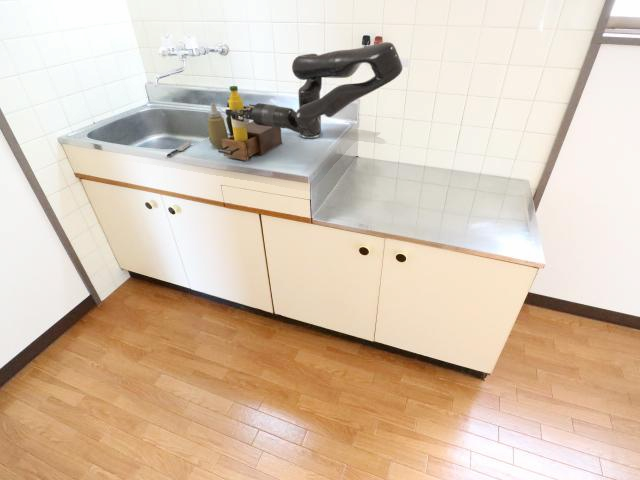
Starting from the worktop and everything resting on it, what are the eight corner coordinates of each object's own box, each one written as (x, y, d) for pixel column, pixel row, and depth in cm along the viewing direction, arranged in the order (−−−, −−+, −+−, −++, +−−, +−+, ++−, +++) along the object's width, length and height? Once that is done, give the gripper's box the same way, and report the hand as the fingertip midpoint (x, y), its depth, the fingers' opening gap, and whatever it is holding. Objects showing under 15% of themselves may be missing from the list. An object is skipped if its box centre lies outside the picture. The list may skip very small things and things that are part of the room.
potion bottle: (251, 138, 167) (246, 96, 157) (239, 144, 161) (233, 101, 151) (237, 135, 170) (231, 94, 160) (225, 140, 165) (218, 98, 154)
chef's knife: (196, 142, 165) (190, 141, 165) (196, 139, 164) (190, 138, 164) (173, 158, 149) (166, 157, 150) (172, 155, 149) (165, 154, 149)
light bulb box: (243, 126, 180) (240, 103, 174) (251, 130, 176) (248, 106, 170) (223, 131, 175) (220, 108, 169) (230, 135, 171) (227, 111, 164)
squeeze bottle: (206, 146, 159) (198, 103, 149) (222, 141, 164) (215, 99, 154) (217, 151, 155) (209, 106, 145) (233, 145, 160) (226, 102, 149)
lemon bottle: (240, 136, 149) (232, 84, 138) (250, 138, 147) (243, 85, 136) (231, 140, 145) (223, 87, 134) (242, 142, 143) (234, 88, 132)
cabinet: (261, 155, 150) (259, 134, 145) (237, 150, 155) (234, 129, 150) (281, 143, 161) (280, 123, 156) (258, 139, 166) (256, 119, 161)
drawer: (237, 165, 140) (234, 148, 136) (214, 160, 144) (211, 143, 140) (266, 149, 153) (265, 132, 149) (245, 144, 158) (243, 128, 154)
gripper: (257, 131, 131) (220, 125, 138) (280, 120, 141) (244, 115, 148) (255, 109, 127) (216, 104, 133) (278, 100, 137) (242, 95, 144)
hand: (231, 110), depth 141 cm, fingers closed on lemon bottle, 5 cm apart
